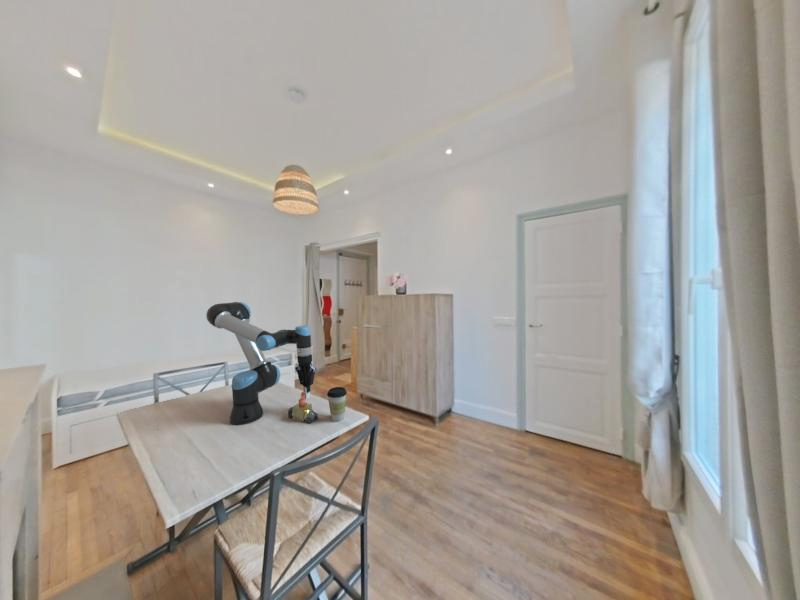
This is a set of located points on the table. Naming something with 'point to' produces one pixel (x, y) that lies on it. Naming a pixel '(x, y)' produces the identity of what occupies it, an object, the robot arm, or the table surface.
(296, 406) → the pipe run
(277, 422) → the table surface
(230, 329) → the robot arm
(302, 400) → the lever
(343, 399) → the coffee cup
